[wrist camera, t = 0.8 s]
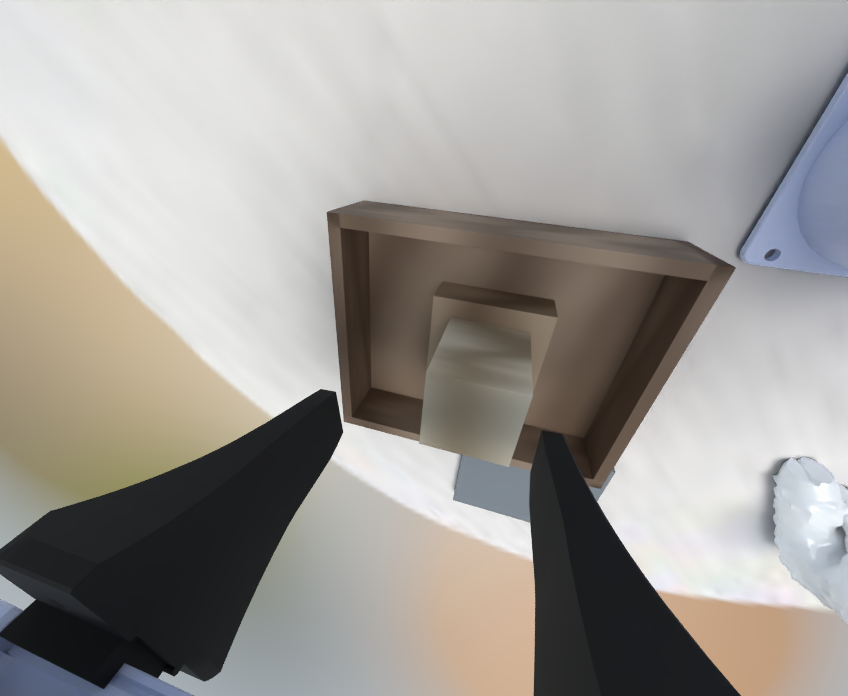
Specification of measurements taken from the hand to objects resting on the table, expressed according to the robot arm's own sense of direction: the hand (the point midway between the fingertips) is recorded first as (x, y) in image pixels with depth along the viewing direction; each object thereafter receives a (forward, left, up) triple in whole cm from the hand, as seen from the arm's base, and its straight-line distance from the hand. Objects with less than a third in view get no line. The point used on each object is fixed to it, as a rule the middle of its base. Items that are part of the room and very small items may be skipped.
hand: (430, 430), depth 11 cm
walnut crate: (-1, +1, -10) cm, 10 cm away
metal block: (-1, +1, -7) cm, 7 cm away
